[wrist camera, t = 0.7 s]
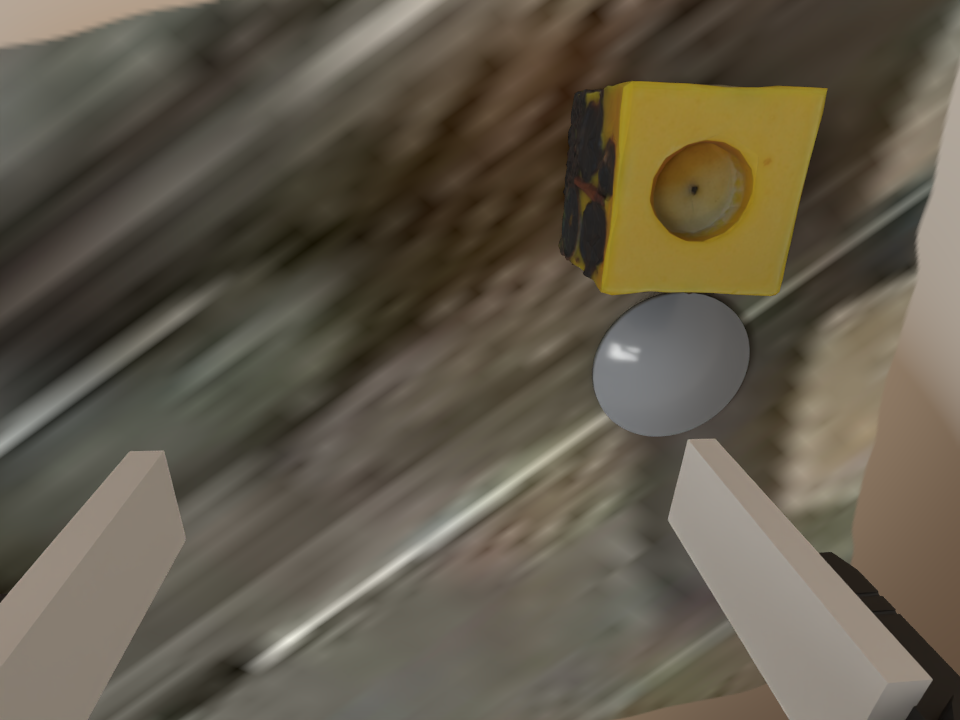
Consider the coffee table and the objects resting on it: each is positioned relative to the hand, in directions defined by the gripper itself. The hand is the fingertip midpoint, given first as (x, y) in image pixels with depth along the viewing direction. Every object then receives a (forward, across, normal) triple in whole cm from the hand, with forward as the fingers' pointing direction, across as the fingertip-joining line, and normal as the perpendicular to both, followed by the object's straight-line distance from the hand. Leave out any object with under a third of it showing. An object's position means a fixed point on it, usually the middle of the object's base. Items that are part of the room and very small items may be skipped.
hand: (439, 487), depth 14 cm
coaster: (+24, +18, -8) cm, 31 cm away
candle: (+24, +14, +5) cm, 28 cm away
